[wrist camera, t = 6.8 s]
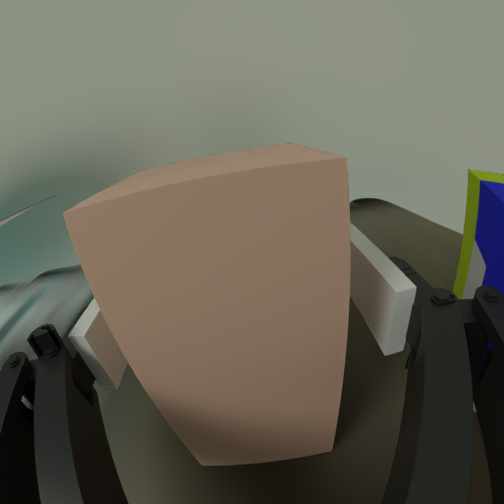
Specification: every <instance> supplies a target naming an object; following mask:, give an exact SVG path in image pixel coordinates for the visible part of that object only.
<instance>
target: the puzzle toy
mask: <svg viewBox="0 0 504 504" xmlns="http://www.w3.org/2000/svg"><path fill="white" fill-rule="evenodd" d="M464 225H465V226H464V233H463V240H462V247H461V253H460V259H459V264H458V269H457V274H456V279H455V284H454V288H453V292H452V293H454V294H455V295H456V296H457V298H458V299H473V298H474V294H475V290H476V289H477V288H478V287H480V286H491V287H492V286H493V287H495V288H496V289H498V290H500V291H501V292H502V293H503V294H504V174H497V173H491V172H484V171H477V170H468V188H467V204H466V216H465V224H464ZM489 346H490V348H491V349H492V348H493V346H492V343H491V341H490V342H489ZM473 412H476V409H475V405H474V402H473Z"/></svg>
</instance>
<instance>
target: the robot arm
mask: <svg viewBox="0 0 504 504" xmlns="http://www.w3.org/2000/svg"><path fill="white" fill-rule="evenodd" d="M350 297H351V298H352V300H353V301H354V303H355V305H356V307H357V308H358V310H359V312H360V313H361V315H362V317H363V318H364V320H365V322H366V324H367V325H368V327H369V329H370V330H371V332H372V334H373V336H374V337H375V339H376V341H377V343H378V345H379V346H380V348H381V350H382V352H383V354H384V355H385V356H387V355H390V354H393V353H397V352H400V351H403V349H404V345H405V341H406V339H407V340H408V342H409V343H410V345H411V349H410V353H409V356H408V359H407V363H406V366H405V368H408V374H407V384H406V393H405V401H404V408H403V415H402V421H401V427H400V432H399V438H398V443H397V447H396V452H395V456H394V461H393V465H392V469H391V473H390V476H389V480H388V484H387V487H386V490H385V494H384V497H383V500H382V503H381V504H467V499H468V493H469V486H470V479H471V469H472V458H473V437H474V413H473V402H474V405H475V409H476V412H477V416H478V420H479V424H480V428H481V432H482V436H483V440H484V445H485V450H486V455H487V461H488V467H489V473H490V481H491V489H492V500H493V504H504V294H503V293H502V292H501V291H500V290H498V289H496V288H495V287H493V286H492V287H491V286H480V287H478V288H477V289H476V290H475V294H474V298H473V299H458V298H457V296H456V295H455V294H454V293H452V292H451V291H449V290H447V289H442V288H432V287H431V286H430V285H429V284H428V283H427V282H426V281H425V280H424V279H423V278H422V277H421V276H420V275H419V274H418V273H417V272H416V271H415V270H414V269H413V268H411V266H410V265H409V264H408V263H407V262H405V261H404V260H402V259H400V258H397V257H390V258H388V257H387V256H386V255H385V254H384V253H382V252H381V251H380V250H379V249H378V248H377V247H376V246H375V245H374V244H373V243H372V242H371V241H370V240H369V239H368V238H367V237H366V236H365V235H364V234H362V233H361V232H360V231H359V230H358V229H357V228H356V227H355V226H354V225H353V224H352V223H350ZM27 341H28V342H29V344H30V346H31V347H32V349H33V350H34V352H35V353H36V355H37V356H38V359H35V360H31V361H29V359H28V358H27V356H26V355H25V353H23V352H17V353H14V354H12V355H11V356H9V358H8V359H7V360H6V362H5V364H4V366H3V368H2V370H1V373H0V504H128V501H127V499H126V496H125V493H124V491H123V488H122V485H121V482H120V480H119V477H118V474H117V471H116V468H115V464H114V461H113V458H112V455H111V451H110V448H109V444H108V440H107V436H106V432H105V428H104V424H103V420H102V415H101V411H100V406H99V401H98V395H97V392H96V390H95V389H94V387H93V383H94V381H95V379H96V381H97V382H98V383H99V385H100V386H101V387H102V389H115V390H118V389H119V386H120V383H121V380H122V377H123V375H124V372H125V369H126V366H127V364H128V362H127V360H126V358H125V356H124V355H123V353H122V351H121V349H120V347H119V346H118V344H117V342H116V340H115V338H114V336H113V334H112V332H111V331H110V329H109V327H108V325H107V323H106V321H105V319H104V317H103V315H102V312H101V310H100V308H99V306H98V304H97V302H96V300H95V297H94V299H93V300H92V301H91V303H90V304H89V305H88V306H86V307H85V308H84V309H83V310H82V311H81V312H80V314H79V315H78V317H77V319H75V321H74V322H73V325H71V327H70V328H69V330H68V331H67V333H66V334H65V336H64V337H63V339H61V338H60V336H59V334H58V333H57V331H56V329H55V327H54V326H53V325H52V324H45V325H42V326H40V327H38V328H37V329H35V330H34V331H33V332H32V333H31V334H30V335H29V337H28V339H27ZM490 341H491V343H492V346H493V348H492V349H491V348H490V346H489V342H490ZM22 396H24V397H25V398H26V399H27V401H28V402H29V403H30V404H31V405H30V408H29V409H28V408H27V407H26V406H25V405H24V404H23V402H22V401H21V399H22Z"/></svg>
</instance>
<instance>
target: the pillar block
mask: <svg viewBox="0 0 504 504" xmlns="http://www.w3.org/2000/svg"><path fill="white" fill-rule="evenodd" d="M63 215H64V218H65V221H66V225H67V228H68V231H69V234H70V237H71V240H72V243H73V245H74V248H75V251H76V253H77V256H78V259H79V262H80V264H81V267H82V269H83V272H84V274H85V277H86V279H87V281H88V284H89V286H90V288H91V291H92V293H93V295H94V297H95V300H96V302H97V304H98V306H99V308H100V310H101V312H102V315H103V317H104V319H105V321H106V323H107V325H108V327H109V329H110V331H111V332H112V334H113V336H114V338H115V340H116V342H117V344H118V346H119V347H120V349H121V351H122V353H123V355H124V356H125V358H126V360H127V362H128V363H129V365H130V367H131V368H132V370H133V372H134V373H135V375H136V377H137V378H138V380H139V381H140V383H141V385H142V386H143V388H144V389H145V391H146V392H147V394H148V395H149V397H150V398H151V400H152V401H153V403H154V404H155V406H156V407H157V409H158V410H159V412H160V413H161V414H162V416H163V417H164V419H165V420H166V421H167V423H168V424H169V425H170V427H171V428H172V429H173V431H174V432H175V433H176V435H177V436H178V437H179V438H180V440H181V441H182V442H183V444H184V445H185V446H186V447H187V448H188V450H189V451H190V452H191V453H192V455H193V456H194V457H195V458H196V459H197V460H198V462H199V463H200V464H201V465H202V466H223V465H242V464H254V463H264V462H273V461H280V460H287V459H294V458H300V457H305V456H310V455H316V454H320V453H325V452H329V451H332V448H333V443H334V438H335V432H336V426H337V420H338V414H339V407H340V400H341V393H342V385H343V377H344V368H345V358H346V347H347V335H348V320H349V300H350V206H349V187H348V173H347V159H346V158H345V157H342V156H338V155H335V154H331V153H328V152H324V151H320V150H317V149H313V148H309V147H305V146H301V145H297V144H293V143H286V144H278V145H271V146H264V147H256V148H249V149H243V150H237V151H231V152H225V153H220V154H215V155H209V156H204V157H199V158H194V159H189V160H184V161H180V162H175V163H171V164H167V165H163V166H158V167H154V168H150V169H147V170H143V171H141V172H139V173H137V174H134V175H132V176H130V177H128V178H126V179H124V180H122V181H120V182H118V183H116V184H114V185H112V186H110V187H109V188H107V189H105V190H103V191H101V192H99V193H97V194H95V195H94V196H92V197H90V198H88V199H86V200H85V201H83V202H81V203H79V204H77V205H76V206H74V207H72V208H71V209H69V210H67V211H66V212H64V213H63Z"/></svg>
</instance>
